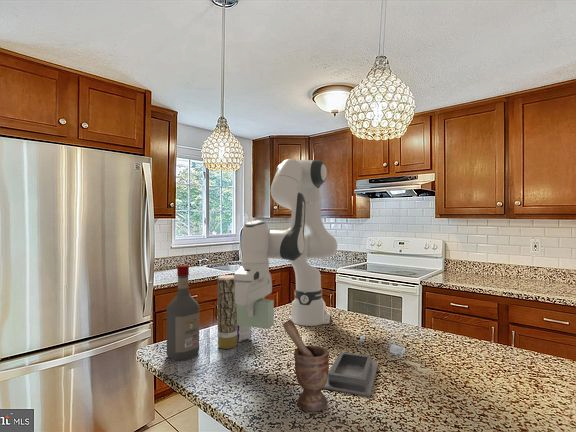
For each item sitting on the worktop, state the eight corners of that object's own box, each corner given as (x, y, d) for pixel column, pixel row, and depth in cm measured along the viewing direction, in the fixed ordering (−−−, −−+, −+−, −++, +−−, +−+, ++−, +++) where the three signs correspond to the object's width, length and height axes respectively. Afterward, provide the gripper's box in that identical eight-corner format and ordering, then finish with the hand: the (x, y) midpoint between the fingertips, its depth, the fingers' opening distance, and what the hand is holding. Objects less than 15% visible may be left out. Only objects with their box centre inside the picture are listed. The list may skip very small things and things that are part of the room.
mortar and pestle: (280, 412, 80) (280, 327, 81) (284, 393, 89) (283, 317, 89) (329, 414, 79) (329, 329, 80) (328, 395, 88) (328, 318, 88)
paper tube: (232, 350, 118) (232, 278, 118) (214, 349, 120) (214, 278, 120) (239, 343, 125) (239, 275, 125) (222, 342, 126) (222, 274, 127)
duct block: (243, 320, 114) (243, 297, 114) (273, 324, 110) (273, 299, 110) (237, 325, 110) (236, 300, 110) (268, 328, 106) (268, 303, 106)
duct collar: (336, 359, 111) (336, 349, 111) (378, 365, 106) (377, 354, 106) (321, 388, 92) (321, 376, 92) (370, 396, 87) (370, 383, 87)
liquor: (202, 354, 115) (202, 265, 115) (178, 363, 108) (178, 268, 108) (186, 347, 121) (186, 263, 121) (163, 355, 114) (163, 266, 114)
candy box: (223, 332, 137) (223, 291, 138) (236, 329, 141) (236, 289, 141) (237, 342, 126) (237, 298, 126) (252, 339, 129) (252, 296, 129)
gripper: (259, 265, 121) (260, 304, 121) (230, 275, 102) (231, 321, 102) (276, 266, 119) (276, 306, 119) (249, 277, 99) (250, 324, 100)
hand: (255, 313), depth 110 cm, fingers closed on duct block, 4 cm apart
